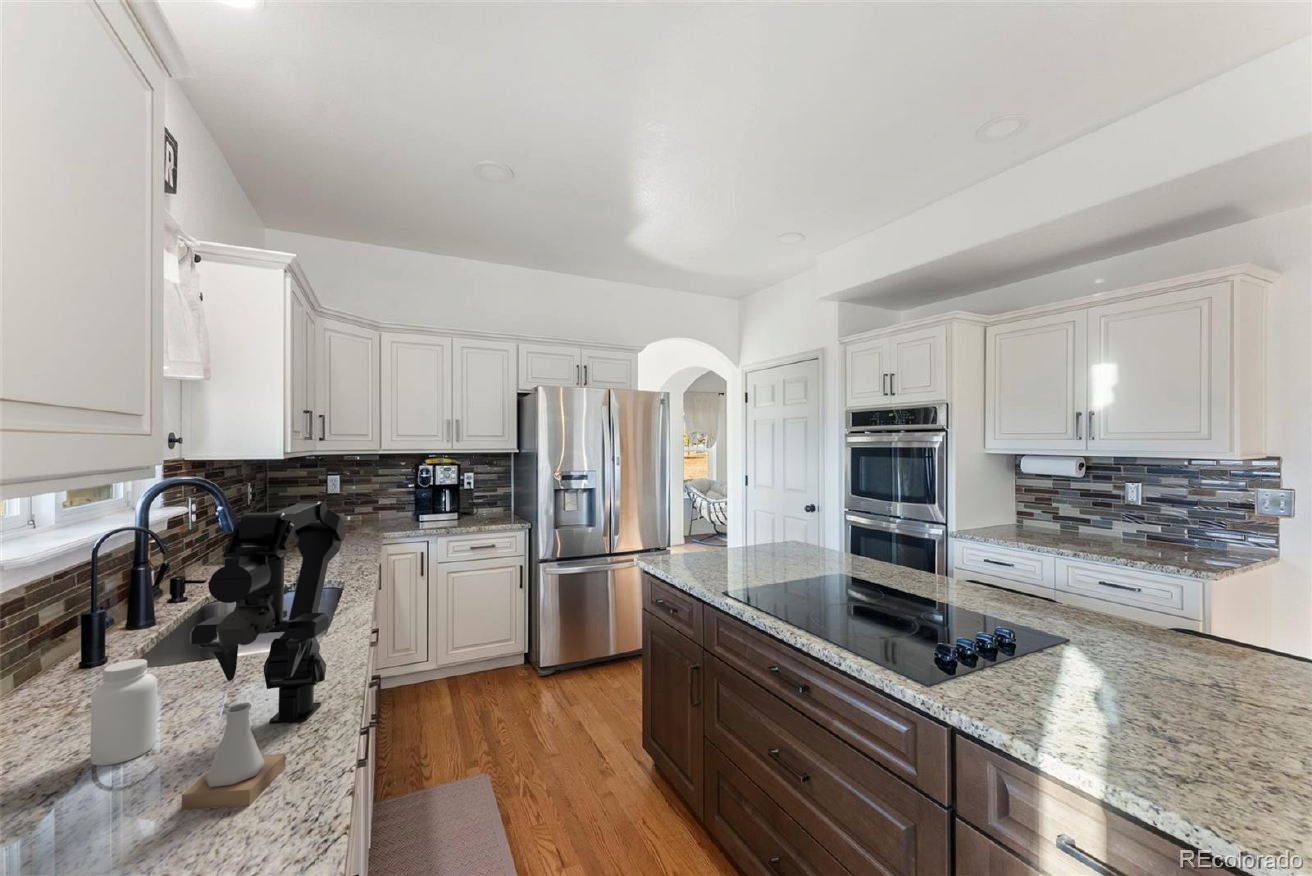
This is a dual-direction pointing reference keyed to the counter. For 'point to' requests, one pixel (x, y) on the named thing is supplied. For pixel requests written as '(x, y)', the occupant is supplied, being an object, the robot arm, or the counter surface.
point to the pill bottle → (123, 713)
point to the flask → (235, 750)
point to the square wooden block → (234, 788)
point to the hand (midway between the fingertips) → (261, 678)
